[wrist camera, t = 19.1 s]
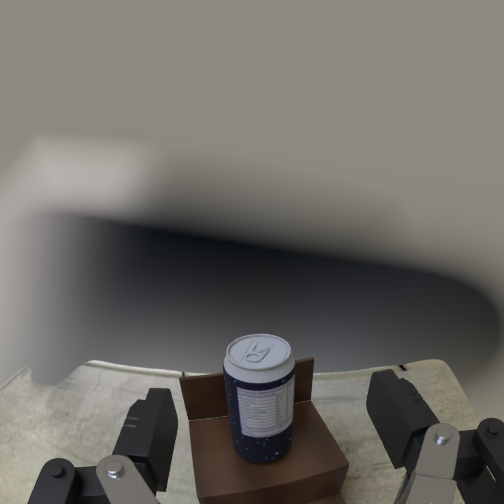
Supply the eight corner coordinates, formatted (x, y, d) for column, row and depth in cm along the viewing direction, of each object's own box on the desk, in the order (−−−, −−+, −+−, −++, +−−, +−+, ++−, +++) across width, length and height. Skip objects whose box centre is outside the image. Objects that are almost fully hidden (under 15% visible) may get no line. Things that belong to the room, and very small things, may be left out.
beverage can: (299, 434, 27) (306, 338, 24) (277, 475, 22) (279, 378, 19) (249, 421, 29) (243, 326, 26) (222, 456, 24) (206, 359, 21)
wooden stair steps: (304, 448, 35) (312, 357, 31) (360, 556, 17) (412, 491, 13) (201, 466, 32) (179, 377, 28) (225, 590, 14) (195, 553, 10)
